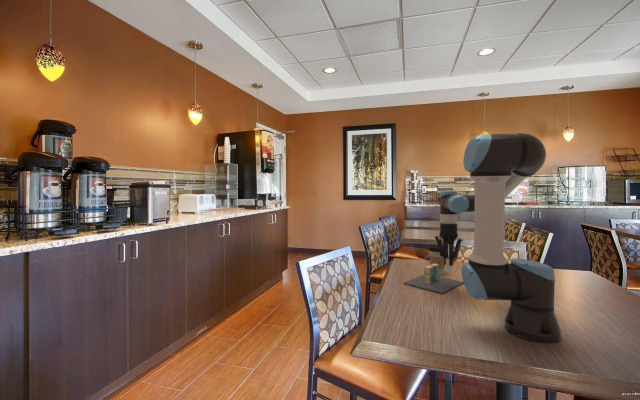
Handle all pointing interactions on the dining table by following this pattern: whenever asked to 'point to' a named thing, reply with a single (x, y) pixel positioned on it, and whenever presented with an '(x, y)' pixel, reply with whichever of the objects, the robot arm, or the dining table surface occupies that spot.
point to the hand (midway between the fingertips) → (448, 271)
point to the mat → (434, 284)
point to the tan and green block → (431, 273)
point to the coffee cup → (436, 258)
